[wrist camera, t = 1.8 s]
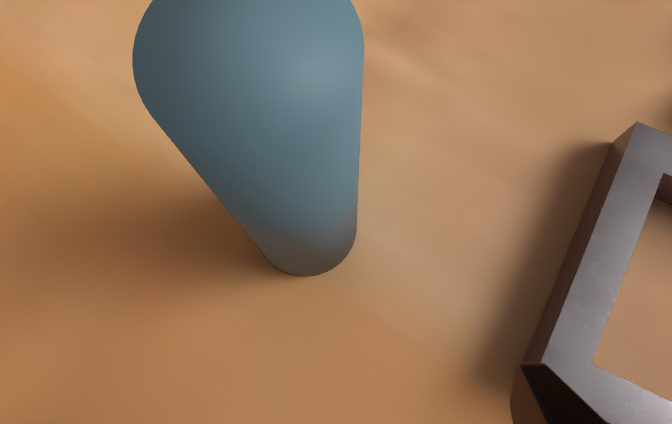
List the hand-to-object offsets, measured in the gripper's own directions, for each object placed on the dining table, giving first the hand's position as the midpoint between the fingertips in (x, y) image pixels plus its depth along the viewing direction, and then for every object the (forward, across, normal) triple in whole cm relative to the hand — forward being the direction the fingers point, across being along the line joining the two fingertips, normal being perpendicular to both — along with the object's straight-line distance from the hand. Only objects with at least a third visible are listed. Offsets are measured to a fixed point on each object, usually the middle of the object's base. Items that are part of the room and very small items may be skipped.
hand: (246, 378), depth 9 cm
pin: (+12, 0, +4) cm, 13 cm away
